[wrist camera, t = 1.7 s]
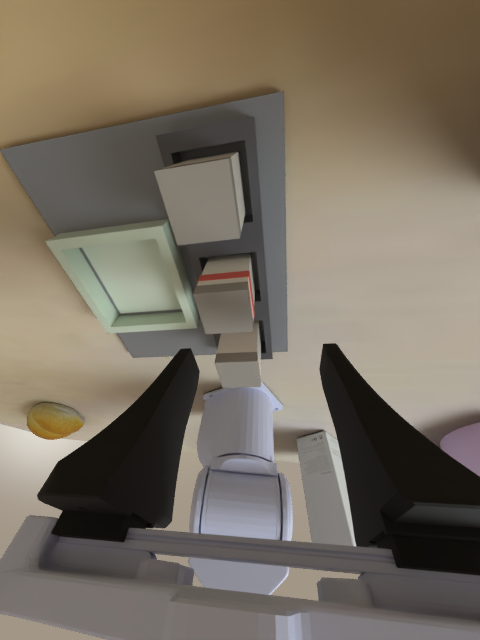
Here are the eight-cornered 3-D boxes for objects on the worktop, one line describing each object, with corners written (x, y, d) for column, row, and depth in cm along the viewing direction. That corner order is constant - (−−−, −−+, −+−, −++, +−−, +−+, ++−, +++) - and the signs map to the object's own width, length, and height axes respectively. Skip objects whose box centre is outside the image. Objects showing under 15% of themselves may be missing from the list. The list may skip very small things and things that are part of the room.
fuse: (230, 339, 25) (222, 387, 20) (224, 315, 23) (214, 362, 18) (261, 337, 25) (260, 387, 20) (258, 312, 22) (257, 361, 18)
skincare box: (295, 437, 40) (308, 557, 29) (326, 428, 38) (355, 558, 26) (319, 454, 44) (339, 567, 32) (349, 447, 41) (383, 568, 30)
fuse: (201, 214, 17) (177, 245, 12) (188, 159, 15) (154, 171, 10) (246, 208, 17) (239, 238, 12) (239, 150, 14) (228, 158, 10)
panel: (135, 352, 29) (126, 369, 27) (9, 149, 16) (-28, 151, 14) (287, 346, 26) (289, 363, 24) (282, 93, 13) (286, 85, 11)
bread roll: (93, 416, 42) (80, 439, 39) (70, 427, 46) (56, 448, 42) (48, 394, 38) (29, 417, 35) (27, 408, 42) (8, 430, 39)
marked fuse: (218, 289, 21) (205, 334, 16) (209, 253, 19) (192, 293, 14) (255, 286, 21) (253, 332, 16) (251, 248, 18) (247, 288, 14)
